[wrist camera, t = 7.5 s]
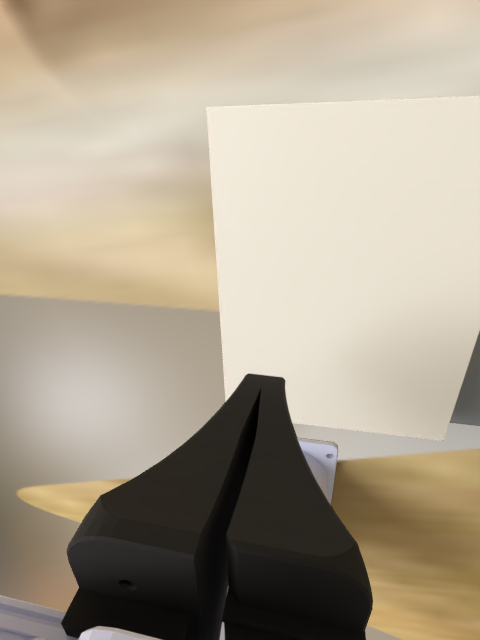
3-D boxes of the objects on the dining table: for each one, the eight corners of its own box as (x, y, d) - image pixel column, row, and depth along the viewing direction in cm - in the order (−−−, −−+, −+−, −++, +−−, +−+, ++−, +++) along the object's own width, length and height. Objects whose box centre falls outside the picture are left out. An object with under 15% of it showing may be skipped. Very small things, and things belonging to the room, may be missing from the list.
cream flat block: (429, 403, 22) (443, 440, 20) (236, 383, 25) (226, 415, 22) (516, 96, 15) (557, 92, 12) (224, 107, 17) (206, 106, 14)
